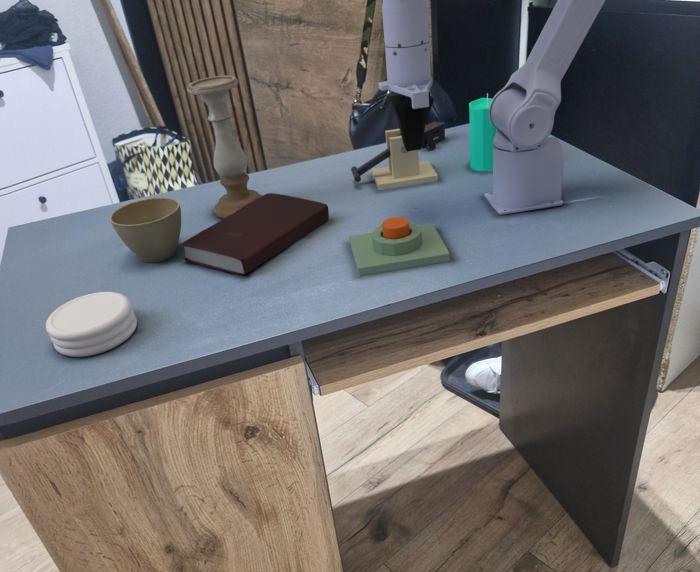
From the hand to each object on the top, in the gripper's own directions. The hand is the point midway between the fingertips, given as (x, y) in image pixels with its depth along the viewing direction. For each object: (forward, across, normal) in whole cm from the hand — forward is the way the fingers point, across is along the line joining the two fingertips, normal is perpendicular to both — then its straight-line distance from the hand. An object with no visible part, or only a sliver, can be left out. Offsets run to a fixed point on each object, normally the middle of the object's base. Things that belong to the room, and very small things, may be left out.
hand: (413, 149), depth 89 cm
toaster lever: (+7, -17, -2) cm, 19 cm away
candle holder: (+11, -15, -27) cm, 33 cm away
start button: (+8, +10, -5) cm, 14 cm away
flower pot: (+11, -2, -39) cm, 40 cm away
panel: (+10, +10, -5) cm, 15 cm away
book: (+11, -1, -24) cm, 26 cm away
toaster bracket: (+10, -17, +1) cm, 20 cm away
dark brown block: (+10, -32, +9) cm, 35 cm away
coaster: (+11, +19, -44) cm, 49 cm away
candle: (+10, -17, +16) cm, 25 cm away
